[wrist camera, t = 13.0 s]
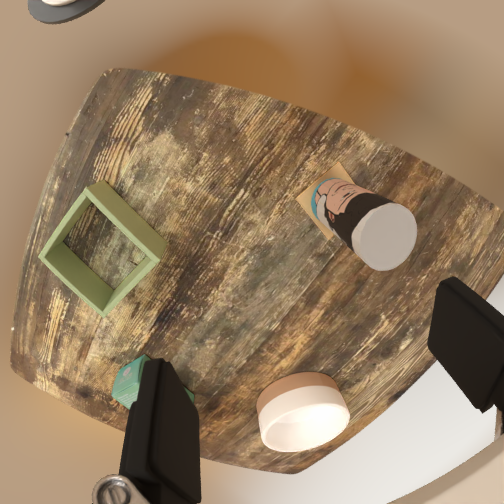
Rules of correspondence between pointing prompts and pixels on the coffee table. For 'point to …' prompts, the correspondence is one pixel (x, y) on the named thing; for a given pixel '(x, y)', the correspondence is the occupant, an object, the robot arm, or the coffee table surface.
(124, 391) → the box
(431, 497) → the robot arm
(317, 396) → the bowl
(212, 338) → the coffee table surface
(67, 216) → the crate
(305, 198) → the coaster
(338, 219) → the grey printed cylinder
